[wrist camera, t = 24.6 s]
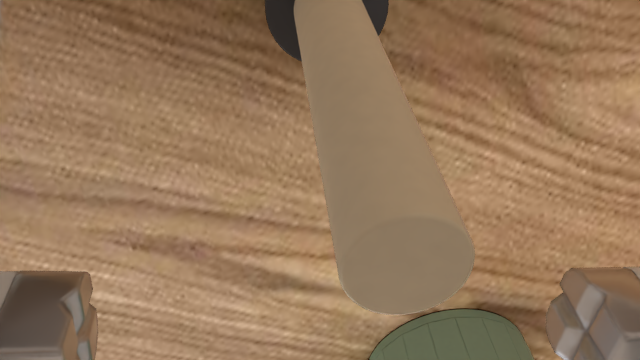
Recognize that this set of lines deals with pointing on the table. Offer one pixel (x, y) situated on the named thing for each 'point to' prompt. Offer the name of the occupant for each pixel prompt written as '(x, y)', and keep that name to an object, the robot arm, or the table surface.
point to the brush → (373, 161)
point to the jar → (455, 338)
